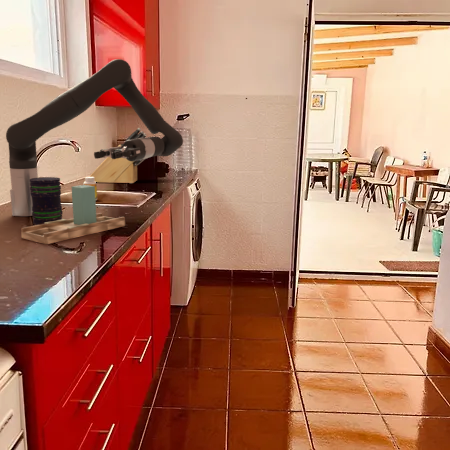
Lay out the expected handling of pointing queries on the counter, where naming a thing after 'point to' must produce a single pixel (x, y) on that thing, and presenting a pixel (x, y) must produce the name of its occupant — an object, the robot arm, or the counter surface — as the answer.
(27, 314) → the counter surface
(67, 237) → the box
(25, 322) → the counter surface
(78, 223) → the teal block
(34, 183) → the navy cylinder
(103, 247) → the counter surface
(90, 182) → the supplement bottle
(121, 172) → the knife block
